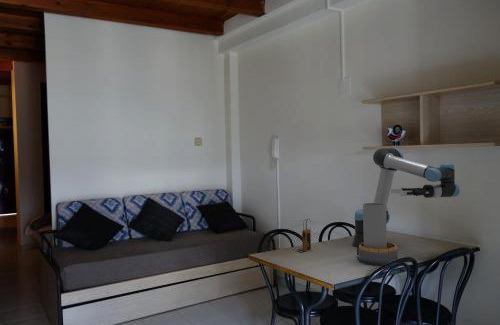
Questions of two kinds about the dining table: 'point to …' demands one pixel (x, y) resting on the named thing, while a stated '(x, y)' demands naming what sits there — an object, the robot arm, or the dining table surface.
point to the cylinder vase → (374, 225)
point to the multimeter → (306, 239)
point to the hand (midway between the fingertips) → (395, 192)
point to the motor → (377, 254)
